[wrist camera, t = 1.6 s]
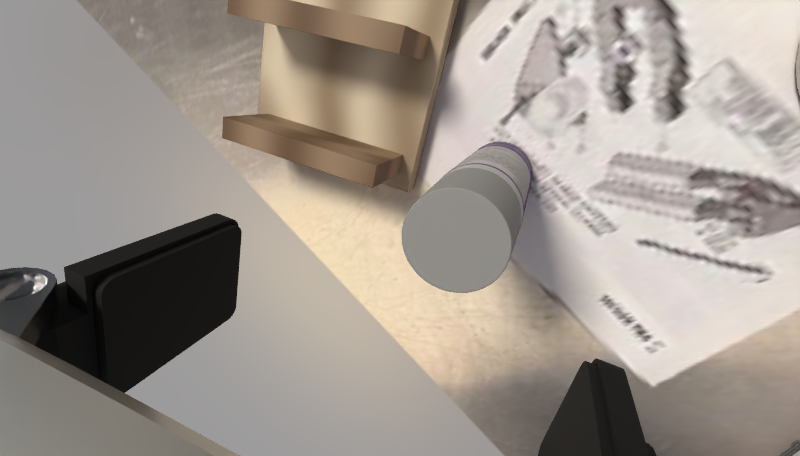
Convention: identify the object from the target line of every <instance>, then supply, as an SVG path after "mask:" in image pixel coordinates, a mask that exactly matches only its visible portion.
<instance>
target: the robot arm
mask: <svg viewBox="0 0 800 456" xmlns="http://www.w3.org/2000/svg"><path fill="white" fill-rule="evenodd" d="M796 79H797V89H798V92H799V95H800V43H799V49H798V54H797V60H796ZM240 245H241V229H240V228H239V227H238V223H237V222H236V221H235V220H233V219H230V218H228V217H225V216H222V215H220V214H217V213H216V214H212V215H209V216H206V217H204V218H201V219H198V220H195V221H192V222H190V223H187V224H184V225H181V226H178V227H176V228H173V229H170V230H167V231H164V232H161V233H159V234H156V235H153V236H150V237H147V238H145V239H142V240H139V241H136V242H133V243H131V244H128V245H125V246H122V247H120V248H117V249H114V250H111V251H108V252H106V253H103V254H100V255H97V256H94V257H92V258H89V259H86V260H83V261H80V262H78V263H75V264H72V265H69V266H66V267H64V272H65V280H66V281H65V282H63V283H60V284H58V285H57V279H56V277H55V275H54V274H52V273H51V272H49V271H47V270H43V269H39V268H28V267H23V268H9V269H4V270H0V456H239V455H237V454H235V453H234V452H232V451H230V450H228V449H226V448H224V447H223V446H221V445H219V444H217V443H215V442H214V441H212V440H210V439H208V438H206V437H204V436H203V435H201V434H199V433H197V432H195V431H193V430H191V429H189V428H188V427H186V426H184V425H182V424H181V423H179V422H177V421H175V420H173V419H171V418H169V417H167V416H165V415H164V414H162V413H160V412H158V411H157V410H155V409H153V408H151V407H149V406H147V405H145V404H144V403H142V402H140V401H138V400H136V399H134V398H132V397H131V396H129V395H127V394H125V392H126V391H128V390H129V389H131V388H132V387H134V386H135V385H136V384H138V383H139V382H141V381H142V380H143V379H145V378H146V377H148V376H149V375H150V374H152V373H153V372H155V371H156V370H158V369H159V368H160V367H162V366H163V365H165V364H166V363H167V362H169V361H170V360H172V359H173V358H175V357H176V356H177V355H179V354H180V353H182V352H183V351H184V350H186V349H187V348H189V347H190V346H192V345H193V344H194V343H196V342H197V341H199V340H200V339H201V338H203V337H204V336H206V335H207V334H208V333H210V332H211V331H213V330H214V329H215V328H217V327H218V326H220V325H221V324H222V323H224V322H225V321H227V320H228V319H229V318H231V316H232V315H233V313H234V311H235V308H236V299H237V285H238V272H239V258H240ZM538 456H656V453H655V451H654V449H653V447H651V446H650V445H649V444H647V443H646V442H645V439H644V435H643V432H642V428H641V425H640V422H639V418H638V415H637V411H636V408H635V404H634V401H633V397H632V394H631V390H630V387H629V384H628V380H627V377H626V373H625V371H624V369H622V368H620V367H617V366H615V365H612V364H610V363H607V362H604V361H602V360H599V359H595V360H594V361H593V362H592V363H589V362H587V361H584V362H583V363H582V365H581V367H580V369H579V370H578V372H577V374H576V376H575V378H574V380H573V382H572V384H571V386H570V388H569V390H568V392H567V394H566V396H565V398H564V400H563V402H562V404H561V406H560V408H559V410H558V412H557V414H556V416H555V418H554V420H553V422H552V423H551V425H550V427H549V429H548V431H547V433H546V435H545V437H544V439H543V441H542V443H541V446H540V449H539V454H538Z"/></svg>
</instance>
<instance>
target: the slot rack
mask: <svg viewBox="0 0 800 456" xmlns="http://www.w3.org/2000/svg"><path fill="white" fill-rule="evenodd" d="M458 4H459V0H228V13H229V14H233V15H237V16H241V17H245V18H249V19H253V20H257V21H261V22H265V28H264V41H263V54H262V67H261V80H260V93H259V106H258V114H257V115H243V116H229V117H223V134H222V138H224V139H227V140H230V141H233V142H236V143H239V144H242V145H245V146H248V147H251V148H254V149H257V150H260V151H263V152H266V153H269V154H272V155H275V156H278V157H281V158H284V159H287V160H290V161H293V162H296V163H299V164H302V165H305V166H308V167H311V168H314V169H317V170H320V171H323V172H326V173H329V174H332V175H335V176H338V177H341V178H344V179H347V180H350V181H353V182H356V183H359V184H362V185H365V186H368V187H371V188H373V187H375V186H377V185H379V184H381V183H382V184H385V185H388V186H391V187H394V188H397V189H400V190H403V191H406V192H408V191H410V190H411V189H413V188H414V184H415V180H416V176H417V172H418V168H419V164H420V160H421V156H422V152H423V148H424V144H425V139H426V135H427V131H428V127H429V123H430V119H431V115H432V111H433V107H434V103H435V98H436V94H437V90H438V86H439V82H440V78H441V74H442V70H443V66H444V62H445V58H446V53H447V49H448V45H449V41H450V37H451V33H452V29H453V25H454V21H455V17H456V13H457V8H458Z"/></svg>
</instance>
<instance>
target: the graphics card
mask: <svg viewBox="0 0 800 456" xmlns="http://www.w3.org/2000/svg"><path fill="white" fill-rule="evenodd" d="M778 456H800V441H798V440H797V441H796V442H794V443H793V444H792V445H791V446H789V447H788V448H787V449H785V450H784V451H783V452H782V453H780V454H779V455H778Z"/></svg>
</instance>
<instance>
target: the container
mask: <svg viewBox="0 0 800 456" xmlns="http://www.w3.org/2000/svg"><path fill="white" fill-rule="evenodd" d="M531 180H532V167H531V163H530V160H529V158H528V157H527V155H526V154H525V153H524V151H522V150H521V149H520V148H519V147H517V146H515V145H513V144H511V143H507V142H493V143H489V144H487V145H485V146H483V147H481V148H480V149H478V150H477V151H476V152H474V153H473V154H472V155H470V156H469V157H468V158H466V159H465V160H464V161H462V162H461V163H460V164H458V165H457V166H456V167H455V168H453V169H452V170H451V171H449V172H448V173H447V174H445V175H444V176H443V177H442V178H441V179H440V180H439V181H438V182H437V183H436V184H435V185H434V186H433V187H432V188H430V189H429V190H428V191H427V192H426V193H425V194H424V195H423V196H422V197H421V198H419V199H418V200H417V201H416V202H415V203H414V204H413V206H412V207H411V208H410V210H409V211H408V213H407V215H406V217H405V220H404V223H403V227H402V245H403V249H404V252H405V255H406V258H407V260H408V262H409V263H410V265H411V266H412V268H413V269H414V270H415V272H416V273H417V274H418V275H419V276H420V277H421V278H422V279H424V280H425V281H426V282H428V283H429V284H431V285H433V286H435V287H437V288H439V289H442V290H445V291H449V292H455V293H467V292H473V291H477V290H480V289H483V288H485V287H487V286H489V285H490V284H492V283H493V282H494V281H495V280H497V279H498V278H499V277H500V275H501V274H502V273H503V272H504V270H505V268H506V267H507V264H508V262H509V259H510V256H511V253H512V250H513V247H514V244H515V241H516V238H517V235H518V232H519V229H520V226H521V223H522V219H523V215H524V211H525V206H526V202H527V197H528V193H529V189H530V184H531Z"/></svg>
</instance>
